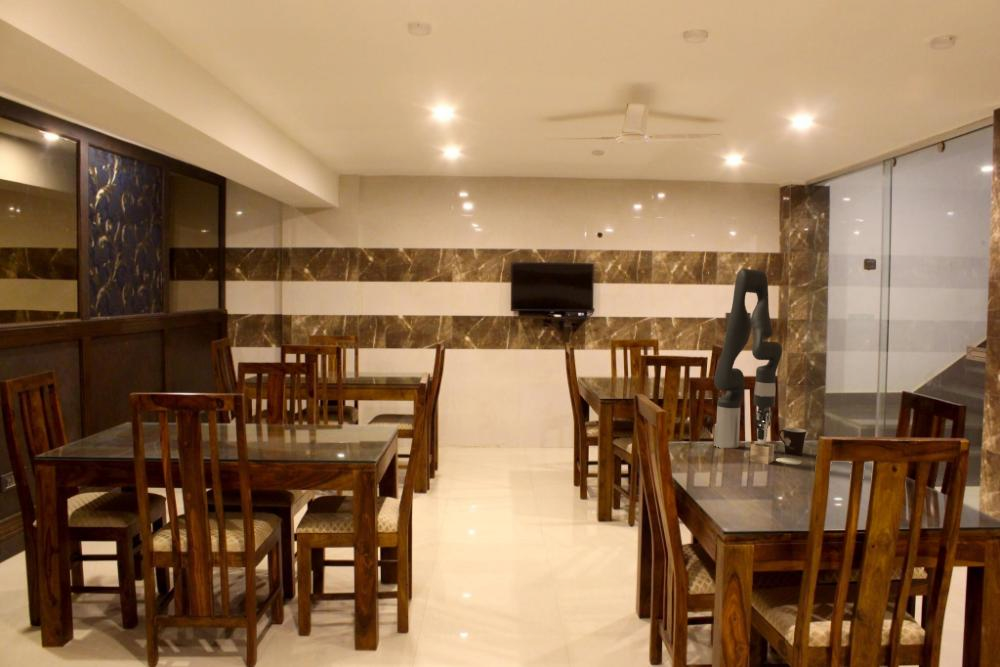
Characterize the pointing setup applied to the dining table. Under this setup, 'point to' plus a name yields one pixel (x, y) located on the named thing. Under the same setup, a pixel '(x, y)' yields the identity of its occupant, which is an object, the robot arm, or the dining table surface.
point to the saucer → (788, 461)
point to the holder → (761, 453)
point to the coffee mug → (793, 440)
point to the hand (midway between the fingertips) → (762, 438)
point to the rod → (763, 442)
